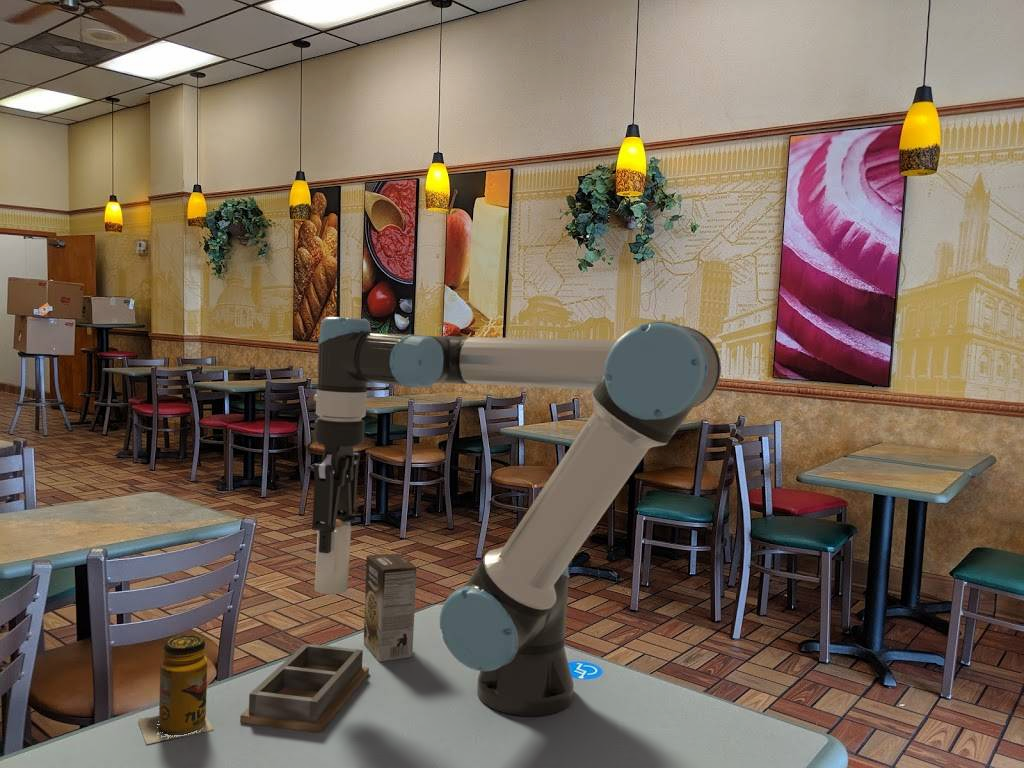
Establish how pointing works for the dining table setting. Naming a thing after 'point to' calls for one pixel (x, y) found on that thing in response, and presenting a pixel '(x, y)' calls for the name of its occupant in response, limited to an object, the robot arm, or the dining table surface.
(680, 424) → the robot arm
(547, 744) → the dining table surface
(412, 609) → the coffee box
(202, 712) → the condiment
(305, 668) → the grey wooden tray
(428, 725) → the dining table surface
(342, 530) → the cylinder
